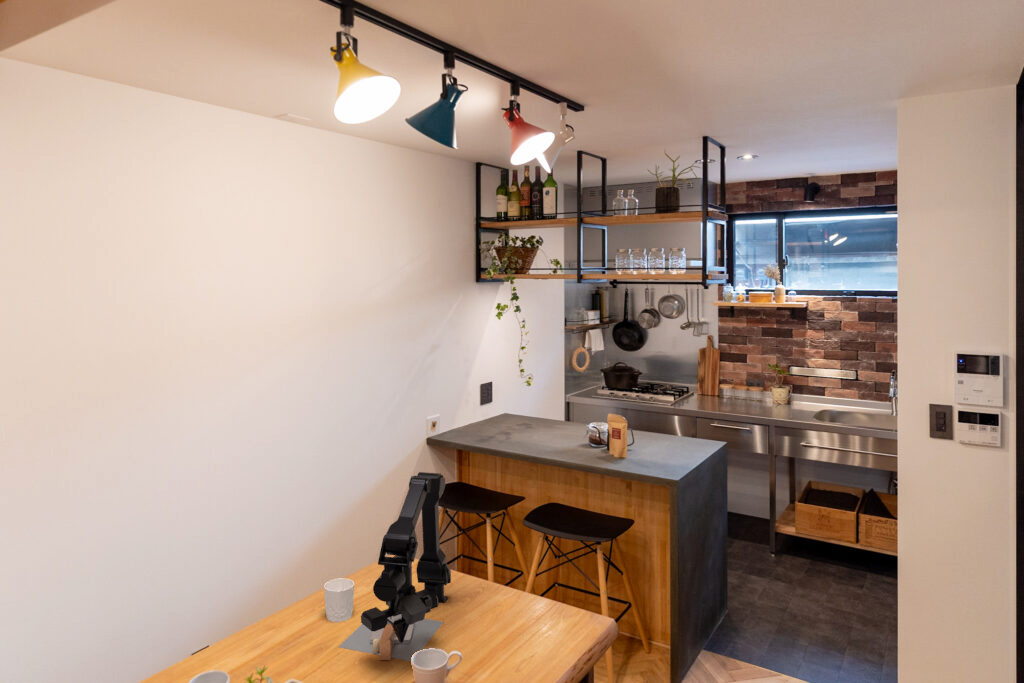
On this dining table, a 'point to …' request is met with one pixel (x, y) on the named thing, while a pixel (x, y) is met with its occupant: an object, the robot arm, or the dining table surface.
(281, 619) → the dining table surface
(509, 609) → the dining table surface
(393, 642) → the flange plate
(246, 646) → the dining table surface
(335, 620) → the white cup
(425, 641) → the slate board
